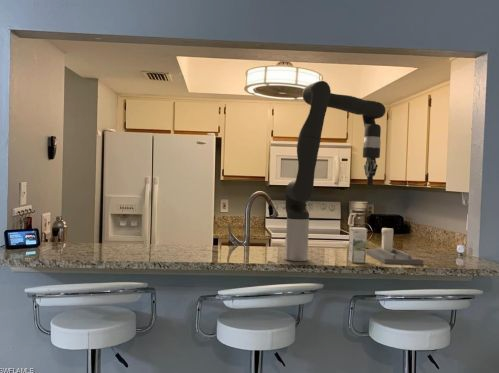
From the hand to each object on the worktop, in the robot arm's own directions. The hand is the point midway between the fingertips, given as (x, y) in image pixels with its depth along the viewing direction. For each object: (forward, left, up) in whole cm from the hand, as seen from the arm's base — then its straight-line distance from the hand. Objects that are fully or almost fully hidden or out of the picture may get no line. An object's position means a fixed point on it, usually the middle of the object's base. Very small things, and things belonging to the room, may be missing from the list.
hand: (369, 185), depth 185 cm
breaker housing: (+10, -6, -32) cm, 34 cm away
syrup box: (-9, -16, -33) cm, 37 cm away
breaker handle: (+10, +2, -30) cm, 32 cm away
